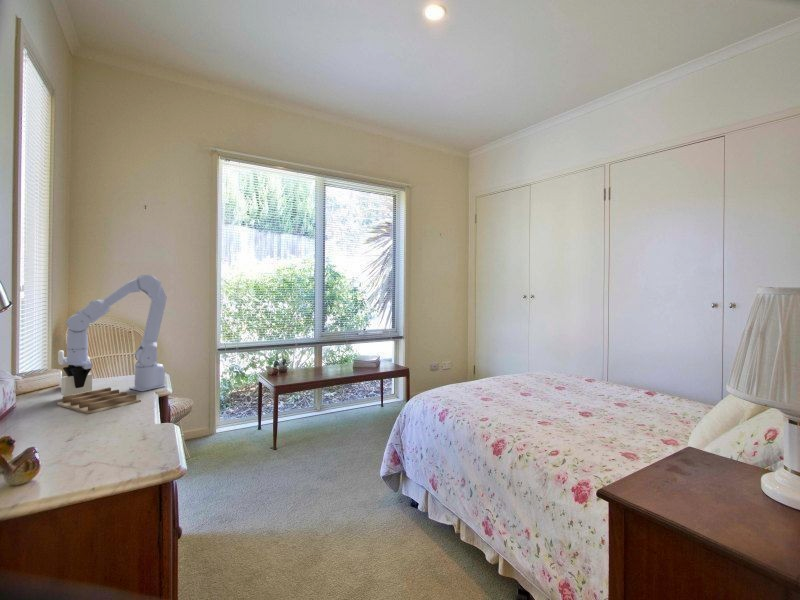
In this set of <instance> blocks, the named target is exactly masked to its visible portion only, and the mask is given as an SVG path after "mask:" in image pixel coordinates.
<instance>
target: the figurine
mask: <svg viewBox="0 0 800 600" xmlns="http://www.w3.org/2000/svg"><path fill="white" fill-rule="evenodd" d="M63 359H67V356H65V351H64V350H63V349H62V350H61V349H60V350H58V351H57V362H58V365H61V366H64V365H63ZM88 360H89V362H90V363H91V357H90V356H89V355H88ZM62 377H68V376H67V375H65V376H62Z"/></svg>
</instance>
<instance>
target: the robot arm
mask: <svg viewBox="0 0 800 600" xmlns="http://www.w3.org/2000/svg"><path fill="white" fill-rule="evenodd" d="M140 292H143V293H145V295H146V296H147V297H148V298H149V299H150V301H151V302H150V306H149V309H148V314H147V318H146V322H145V328H144V332H143V336H142V339H141V342H140V344H139V347H138V349H137V350H136V351H135V353H134V357H135V358H134V359H135V360H136V361H137V362H136V363H135V364H134V385H133V386H129V390H133V391H134V390H135V391H137V392H144V391H149V390H154V389H155V390H156V389H160V388H163V387H166V386H167V385H166V384H165V372H166V371H165V370H166V369H165V367H164V365H163V364H162V363H157V361H158V359H159V356H158V350H157V349H158V339H159V334H160V329H161V324H162V321H163V316H164V313H165V312H164V311H165V308H166V303H167V298H168V297H167V294H166V291H165V290H164V288H163V286H162V282H161V281H160V280H159V279H158V278H157V277H156V276H155V275H152V274H141V275H139V276H137V277H136V278H134V279H131V280H129V281H128V282H126V283H124V284H123V285H122V286H120V287H119V288H117V289H116V290H114V291H113V292H111V294H109V295H107V297H105V298H104V299H95V300H94V301H93V300H90V301H89V302H88V304H87V306H85V307H83V308H82V309H80V310H79V309H77V310H76V311H75V313H76V314H73V315H71V316H70V317H68V319H67V321H66V322H65V323H66V326H67V328H68V329H67V333H66V334H67V336H66V357H67V359H63V365H62V366H64V365H65V366H66V367H63V368H62V370H63V371H64V372H65V374H66V376H68V377H69V376H73V377H74V383H75V387H76V388H81V387H84V384H85V380H86V377H87V375H88V373H89V374H90V372H91V370H92V369H93V362H91V361H90V362H89V360H88V356H89V355H88V354H89V335H88V328H89V326H90V324H91V323H92V324H93V323H95V322H96V321H98V320H99V319H102V317H103V316H105V315H106V314H107V313H109V312H110V309H111V306H112V305H114V304H115V303H117V302H119V301H120V300H122V299H123V298H125V297H126V296H128V295H129V294H131V293H133V294H134V293H140ZM67 365H68V366H67Z"/></svg>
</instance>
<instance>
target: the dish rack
mask: <svg viewBox="0 0 800 600" xmlns="http://www.w3.org/2000/svg"><path fill="white" fill-rule="evenodd" d="M61 399H62V401H58V402H57V403H56V405H57V406H61V407H64V408H66V409H69V410H73V411H76V412H79V413H82V414H87V415H90V414H94V413H97V412H103V411H106V410H110V409H114V408H120V407H123V406H128V405H132V404H134V403H140V402H142V399H140V398H137V393H131V394H129V391H123V392H120V389H113V390H112V387H106V388H101V389H95V390H92V391H88V392H83V393H78V394H73V395H67V396H64V395H62V398H61Z"/></svg>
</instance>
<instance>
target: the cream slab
mask: <svg viewBox="0 0 800 600" xmlns="http://www.w3.org/2000/svg"><path fill="white" fill-rule="evenodd" d="M60 381H61V384H60V385H61V390H60V392H61V393H60V395H61V396H68V395H73V394H79V393H84V392H89V391H93V373H90V372H89V373H88V375H87V377H86V380H85V384H84V387H81V388H76V387H75V383H74V377H73V376H69V377H63V376H61V380H60Z"/></svg>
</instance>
